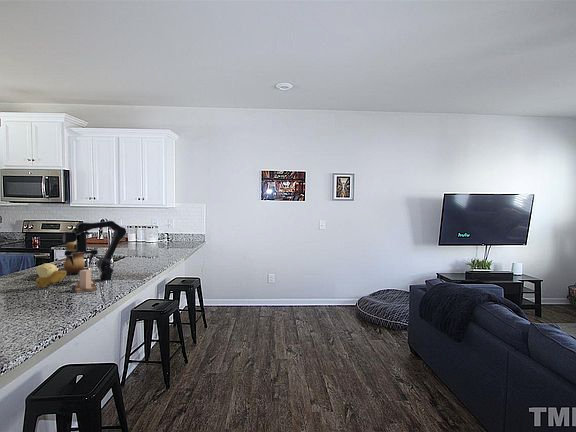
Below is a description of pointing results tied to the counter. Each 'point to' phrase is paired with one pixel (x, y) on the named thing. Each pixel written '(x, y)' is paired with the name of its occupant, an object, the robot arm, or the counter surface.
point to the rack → (92, 289)
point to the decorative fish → (50, 278)
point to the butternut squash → (74, 260)
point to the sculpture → (46, 269)
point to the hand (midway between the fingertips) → (81, 265)
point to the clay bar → (85, 279)
